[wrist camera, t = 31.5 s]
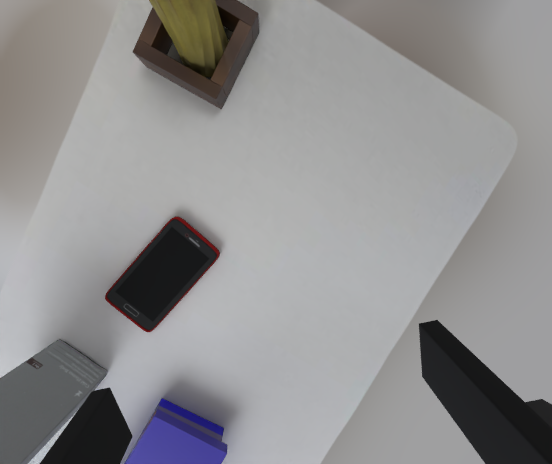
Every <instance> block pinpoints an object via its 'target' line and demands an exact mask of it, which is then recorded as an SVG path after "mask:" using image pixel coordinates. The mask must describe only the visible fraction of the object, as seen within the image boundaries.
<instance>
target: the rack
mask: <svg viewBox="0 0 552 464" xmlns="http://www.w3.org/2000/svg"><path fill="white" fill-rule="evenodd" d="M215 2H216V5H217V8H218V12H219V15H220V19H221V22H222V25H223V26H224V27H226V28H227V29H229V30H231V31H232V32H233V34H232V36H231V38H230V40H229V42H228V44H227V46H226V49H225V51H224V53H223V55H222V57H221V59H220V61H219V63H218V65H217V67H216V69H215V71H214V73H213V75H212V78H211V80H209V79H207V78H205V77H204V76H202V75H200V74H199V73H197V72H195V71H193V70H192V69H190V68H188V67H186V66H185V65H183V64H181V63H179V62H178V61H176V60H174V59H172V58H171V57H169V56H167V53H168V51H169V48H170V46H171V44H172V42H173V41H172V39H171V37H170V36H169V34H168V32H167V31H166V29H165V27H164V25H163V23H162V21H161V20H160V18H159V16H158V15H157V13H156V11H155V9H154V8H152V10H151V12H150V14H149V17H148V19H147V21H146V23H145V26H144V28H143V30H142V32H141V34H140V37H139V39H138V41H137V43H136V46H135V48H134V50H133V53H134V54H135V55H136V56H137V57H138V58H139V59H140V60H141V61H142V63H143V64H144V65H145V66H146V67H147V68H149V69H151V70H153V71H154V72H156V73H158V74H160V75H162V76H163V77H165V78H167V79H169V80H170V81H172V82H174V83H176V84H177V85H179V86H181V87H183V88H185V89H186V90H188V91H190V92H192V93H193V94H195V95H197V96H199V97H200V98H202V99H204V100H206V101H207V102H209V103H211V104H213V105H215V106H216V107H218V108H220V109H222V107H223V105H224V103H225V101H226V99H227V97H228V95H229V93H230V91H231V89H232V87H233V85H234V82H235V80H236V78H237V76H238V74H239V72H240V70H241V68H242V66H243V64H244V62H245V60H246V58H247V56H248V54H249V52H250V50H251V48H252V46H253V44H254V42H255V40H256V38H257V36H258V34H259V19H258V13H257V12H255V11H254V10H252V9H250V8H249V7H247V6H245V5H244V4H242V3H240V2H239V1H237V0H215Z"/></svg>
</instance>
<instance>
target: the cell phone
mask: <svg viewBox="0 0 552 464" xmlns="http://www.w3.org/2000/svg"><path fill="white" fill-rule="evenodd" d="M158 234H159V235H158ZM158 234H157V235H158V236H157V235H156V236H155V238H154V239H153V240H152V241H153V242H152V241H151V242H152V243H151V242H150V243H149V244H148V246H147V247H146V248H145V249H144V250H143V251H142V252H141V254H140V255H139V256H138V257H137V258H136V259H135V261H134V262H133V263H132V264H131V265H130V266H129V267H128V269H127V270H126V271H125V272H124V273H123V274H122V275H121V277H120V278H119V279H118V280H117V281H116V282H115V283H114V285H113V286H112V287H111V288H110V289H109V290H108V292H107V293H106V295H105V299H106V301H107V302H108V303H110V304H111V305H112V306H113V307H114V308H116V309H117V310H118V311H120V312H121V313H122V314H123V315H125V316H126V317H127V318H128V319H130V320H131V321H132V322H133V323H135V324H136V325H137V326H139V327H140V328H141V329H143V330H144V331H146V332H151V331H153V330H154V329H155V328H156V327H157V326H158V325H159V323H160V322H161V321H162V320H163V319H164V318H165V317H166V316H167V315H168V313H169V312H170V311H171V310H172V309H173V308H174V307H175V306H176V305H177V304H178V302H179V301H180V300H181V299H182V298H183V297H184V296H185V295H186V294H187V292H188V291H189V290H190V289H191V288H192V287H193V286H194V285H195V284H196V282H197V281H198V280H199V279H200V278H201V277H202V276H203V275H204V274H205V272H206V271H207V270H208V269H209V268H210V267H211V266H212V265H213V264H214V262H215V261H216V260H217V258H218V257H219V255H220V252H219V250H218V249H217V248H216V247H215V246H214V245H213V244H211V243H210V242H209V241H208V240H207V239H206V238H204V237H203V236H202V235H201V234H200V233H199V232H198V231H196V230H195V229H194V228H193V227H192V226H191V225H189V224H188V223H187V222H186V221H185V220H183V219H182V218H180V217H174V218H172V219H171V220H170V221H169V222H168V223H167V224H166V225H165V226H164V227H163V228H162V230H161V231H160V232H159V233H158Z"/></svg>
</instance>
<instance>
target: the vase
mask: <svg viewBox="0 0 552 464" xmlns="http://www.w3.org/2000/svg"><path fill="white" fill-rule="evenodd" d="M149 1H150V3H151V4H152V6H153V8H154V9H155V11H156V13H157V15H158V16H159V18H160V20H161V21H162V23H163V25H164V27H165V29H166V31H167V32H168V34H169V36H170V37H171V39H172V41H173V43H174V45H175V47H176V49H177V51H178V53H179V56H180V59H181V61H182V63H183V65H185V66H186V67H188V68H190V69H192V70H193V71H195V72H197V73H199V74H200V75H202V76H204V77H212V75H213V73H214V71H215V69H216V67H217V65H218V63H219V61H220V59H221V57H222V55H223V53H224V51H225V49H226V46H227V44H228V42H229V40H228V38H227V36H226V34H225V31H224V28H223V25H222V22H221V19H220V15H219V12H218V8H217V5H216V2H215V0H149Z"/></svg>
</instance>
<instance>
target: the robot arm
mask: <svg viewBox="0 0 552 464" xmlns="http://www.w3.org/2000/svg"><path fill="white" fill-rule="evenodd" d="M419 332H420V347H421V363H422V377H423V378H424V379H425V381H426V382H427V384H428V385H429V386H430V388H431V389H432V391H433V392H434V393H435V395H436V396H437V398H438V399H439V400H440V402H441V403H442V404H443V406H444V407H445V409H446V410H447V411H448V413H449V414H450V415H451V417H452V418H453V420H454V421H455V422H456V423H457V425H458V426H459V428H460V429H461V431H462V432H463V433H464V435H465V436H466V438H467V439H468V440H469V442H470V443H471V444H472V446H473V447H474V449H475V450H476V451H477V453H478V454H479V455H480V457H481V458H482V459H483V461H484V462H485V464H552V404H550V403H548V402H546V401H544V400H543V399H540V400H535V401H530V402H524V401H523V400H522V399H521V398H520V397H519V396H518V395H516V394H515V393H514V392H513V391H512V390H511V389H510V388H509V387H508V386H507V385H506V384H505V383H504V382H503V381H502V380H501V379H499V378H498V377H497V376H496V375H495V374H494V373H493V372H492V371H491V370H490V369H489V368H488V367H486V365H485V364H483V363H482V362H481V361H480V360H479V359H478V358H477V357H476V356H475V355H474V354H473V353H472V352H471V351H470V350H469V349H467V348H466V347H465V346H464V345H463V344H462V343H461V342H460V341H459V340H458V339H457V338H456V337H455V336H454V335H452V333H450V332H449V331H448V330H447V329H446V328H445V327H444V326H443V325H442V324H441V323H440V322H439V321H438V320H435V321H430V322H426V323H420V324H419ZM131 438H132V434H131V432H130V430H129V428H128V425H127V423H126V421H125V419H124V417H123V415H122V413H121V411H120V408H119V406H118V404H117V402H116V400H115V398H114V396H113V394H112V391H111V389H110V388H106V389H101V390H96V391H92V392H91V393H90V395H89V396H88V397H87V399H86V400H85V402H84V403H83V404H82V406H81V407H80V408H79V410H78V411H77V413H76V414H75V415H74V417H73V418H72V420H71V421H70V422H69V424H68V425H67V427H66V428H65V429H64V431H63V432H62V434H61V435H60V436H59V438H58V439H57V440H56V442H55V443H54V445H53V446H52V447H51V449H50V450H49V452H48V453H47V454H46V456H45V457H44V459H43V460H42V461H41V463H40V464H120V462H121V460H122V458H123V456H124V454H125V451H126V449H127V447H128V445H129V443H130V441H131Z"/></svg>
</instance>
